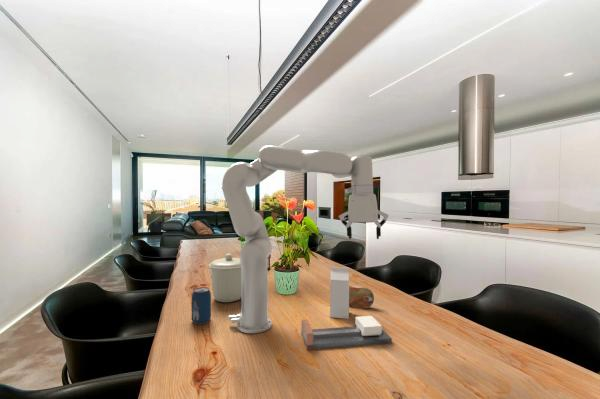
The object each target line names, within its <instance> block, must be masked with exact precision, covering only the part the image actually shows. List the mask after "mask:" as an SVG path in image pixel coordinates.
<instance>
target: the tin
mask: <svg viewBox="0 0 600 399" xmlns="http://www.w3.org/2000/svg"><path fill="white" fill-rule="evenodd" d="M374 300H375V295H374V293H373V292H372V290H371V289H369V288H368V287H361V286H352V285H349V307H350V308H351V307H352V308H361V309H368V308H370V307H372V306H373V304H374V302H375V301H374Z"/></svg>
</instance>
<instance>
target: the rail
mask: <svg viewBox="0 0 600 399" xmlns="http://www.w3.org/2000/svg"><path fill="white" fill-rule="evenodd" d="M301 337H302V340H303V343H304V345H305V349H306V350H307V351H311V350H323V349H334V348H335V349H336V348H337V349H339V348H348V347H359V346H360V347H361V346H362V347H363V346H371V345H386V344H392V343H393V339H392V337H391V336H390V334H388V333H387V332H386V331H385V330H384V329H383V328H382V334H380V335H373V336H362V335H361V330H360V329H357V325H356V326H355V325H354V326H341V327H331V328H330V327H328V328H327V327H325V328H314V329H313V328H312V326H311V325H310V323H309V321H308V319H301Z"/></svg>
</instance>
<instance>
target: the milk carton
mask: <svg viewBox="0 0 600 399" xmlns="http://www.w3.org/2000/svg"><path fill="white" fill-rule="evenodd" d="M329 280H330V284H329V287H330V288H329V290H330V291H329V295H330V298H329V302H330V303H329V305H330V306H329V307H330V308H329V312H330V313H329V317H330V318H335V319H337V318H338V319H346V320H347V319H349V317H350V316H349V313H350V306H349V286H350V268H349V267H334V266H331V268H330V278H329Z"/></svg>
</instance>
